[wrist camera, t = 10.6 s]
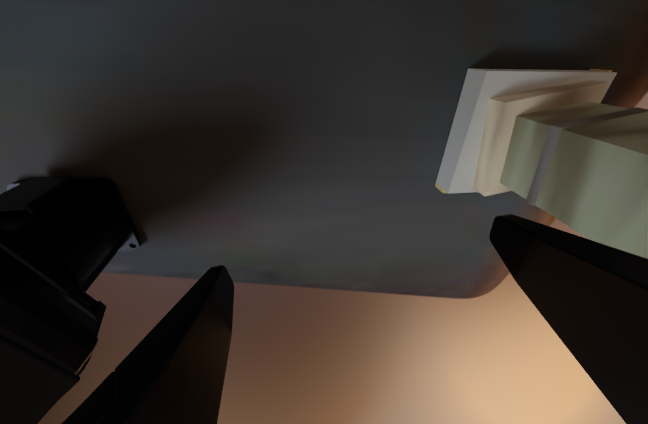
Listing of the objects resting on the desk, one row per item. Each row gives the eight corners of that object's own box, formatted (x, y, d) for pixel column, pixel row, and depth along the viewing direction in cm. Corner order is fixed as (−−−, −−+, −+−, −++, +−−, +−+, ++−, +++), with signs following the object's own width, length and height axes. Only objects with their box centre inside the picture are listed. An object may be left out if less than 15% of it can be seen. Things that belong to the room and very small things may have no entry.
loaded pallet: (472, 187, 22) (665, 330, 11) (489, 98, 18) (817, 182, 7) (552, 170, 22) (819, 294, 11) (586, 79, 18) (1049, 131, 7)
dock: (535, 181, 25) (554, 190, 23) (435, 185, 23) (447, 196, 22) (592, 68, 20) (621, 71, 18) (468, 66, 18) (487, 69, 17)
